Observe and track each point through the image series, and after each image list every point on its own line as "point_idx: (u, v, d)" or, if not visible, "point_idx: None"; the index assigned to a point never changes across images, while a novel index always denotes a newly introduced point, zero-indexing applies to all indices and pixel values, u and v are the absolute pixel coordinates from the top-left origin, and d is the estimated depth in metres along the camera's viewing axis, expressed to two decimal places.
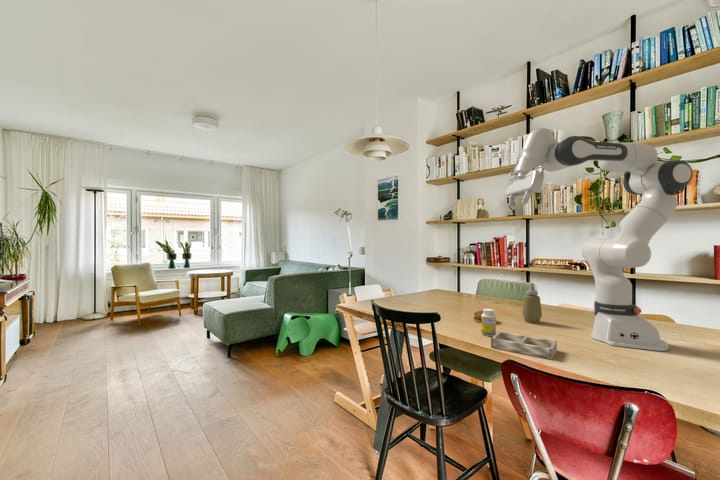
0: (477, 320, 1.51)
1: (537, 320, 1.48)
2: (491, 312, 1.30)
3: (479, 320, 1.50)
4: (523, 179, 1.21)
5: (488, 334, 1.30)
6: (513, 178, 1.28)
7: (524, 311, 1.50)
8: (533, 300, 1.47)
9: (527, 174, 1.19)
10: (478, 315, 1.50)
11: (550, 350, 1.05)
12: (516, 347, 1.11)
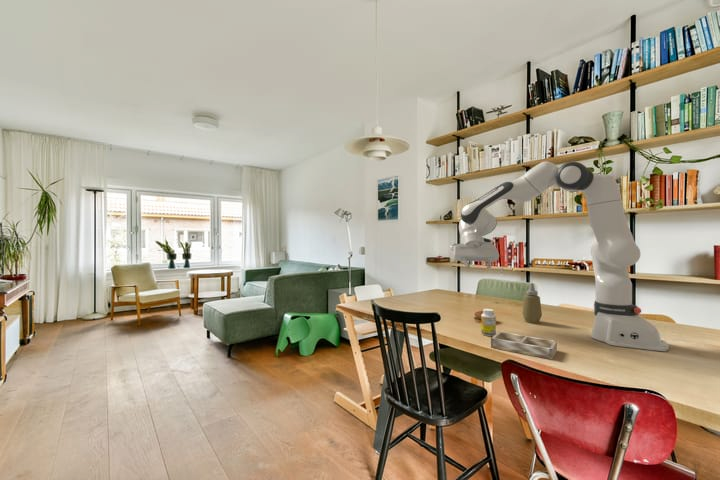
0: (477, 320, 1.51)
1: (537, 320, 1.48)
2: (491, 312, 1.30)
3: (479, 320, 1.50)
4: None
5: (488, 334, 1.30)
6: None
7: (524, 311, 1.50)
8: (533, 300, 1.47)
9: None
10: (478, 315, 1.50)
11: (550, 350, 1.05)
12: (516, 347, 1.11)
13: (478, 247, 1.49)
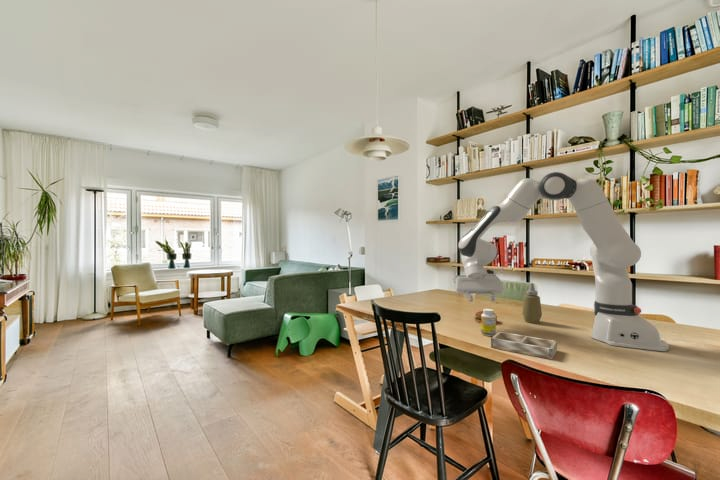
0: (478, 320, 1.51)
1: (537, 320, 1.48)
2: (491, 312, 1.30)
3: (480, 320, 1.50)
4: None
5: (488, 334, 1.30)
6: None
7: (524, 311, 1.50)
8: (533, 300, 1.47)
9: None
10: (479, 315, 1.50)
11: (550, 350, 1.05)
12: (516, 347, 1.11)
13: (481, 279, 1.46)
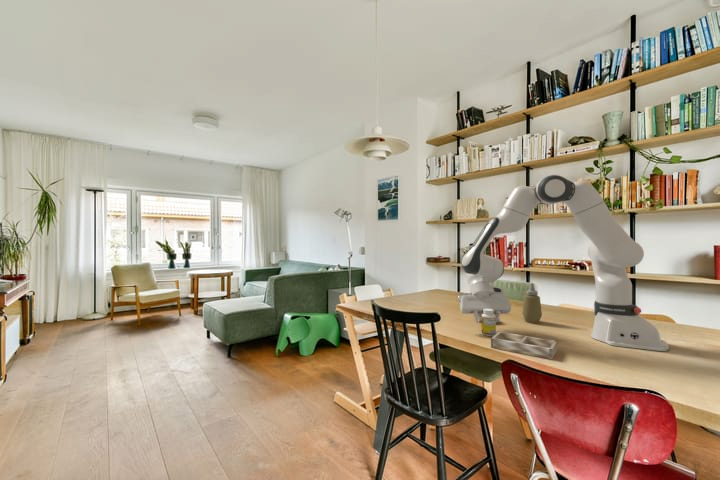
0: None
1: (537, 320, 1.48)
2: (491, 312, 1.30)
3: None
4: None
5: (488, 334, 1.30)
6: None
7: (524, 311, 1.50)
8: (533, 300, 1.47)
9: None
10: (480, 315, 1.50)
11: (550, 350, 1.05)
12: (516, 347, 1.11)
13: (488, 298, 1.37)
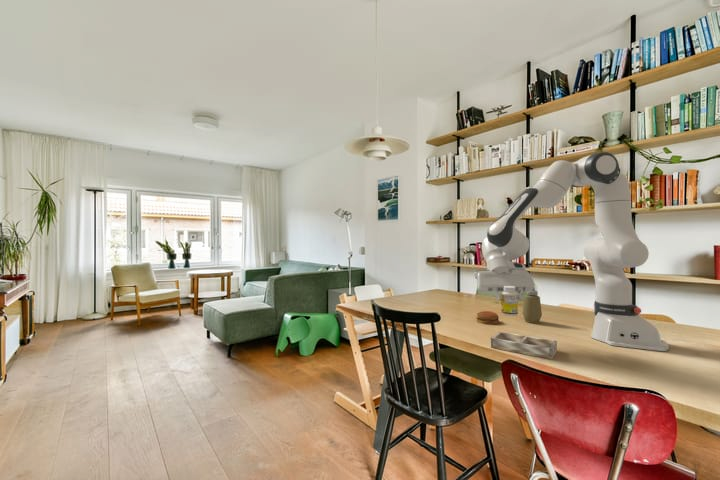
0: (480, 321, 1.50)
1: (537, 320, 1.48)
2: (513, 289, 1.16)
3: (482, 321, 1.49)
4: None
5: (509, 314, 1.15)
6: None
7: (524, 311, 1.50)
8: (533, 300, 1.47)
9: None
10: (481, 316, 1.49)
11: (550, 350, 1.05)
12: (516, 347, 1.11)
13: (508, 274, 1.23)
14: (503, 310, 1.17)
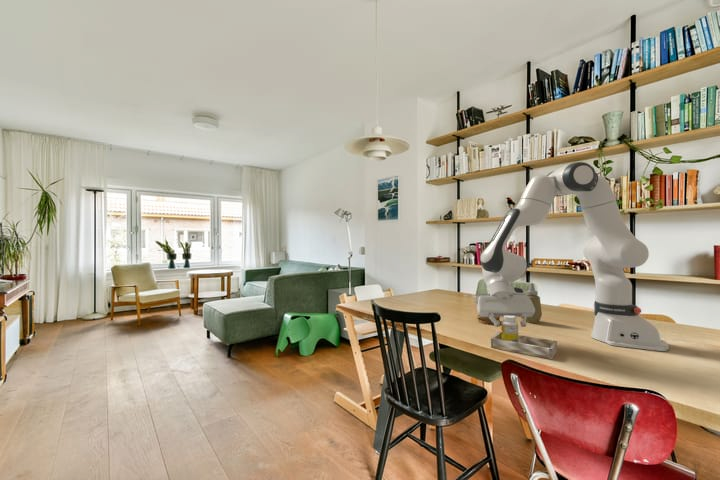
0: (481, 321, 1.50)
1: (537, 320, 1.48)
2: (513, 319, 1.16)
3: (483, 321, 1.49)
4: None
5: None
6: None
7: None
8: (533, 300, 1.47)
9: None
10: None
11: (550, 350, 1.05)
12: (516, 347, 1.11)
13: (508, 299, 1.23)
14: None
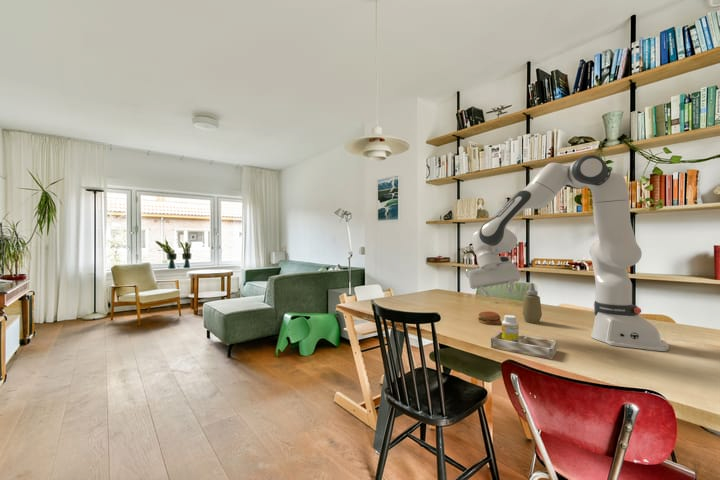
0: (481, 321, 1.50)
1: (537, 320, 1.48)
2: (513, 319, 1.16)
3: (484, 321, 1.49)
4: None
5: None
6: None
7: (524, 311, 1.50)
8: (533, 300, 1.47)
9: None
10: (482, 316, 1.49)
11: (550, 350, 1.05)
12: (516, 347, 1.11)
13: (495, 269, 1.35)
14: None
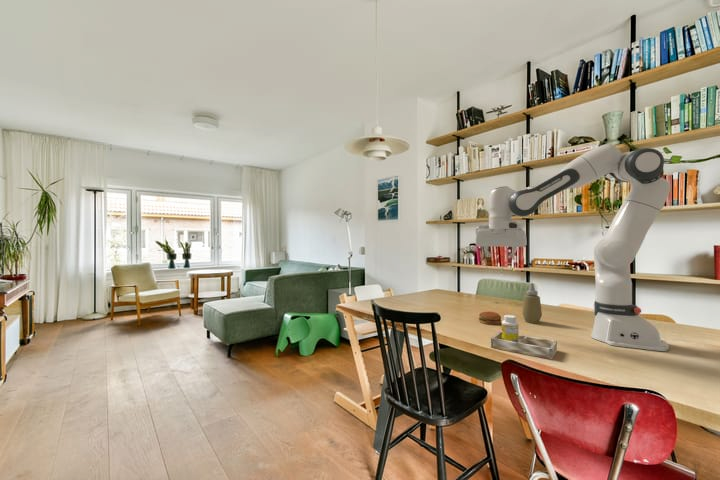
0: (482, 321, 1.49)
1: (537, 320, 1.48)
2: (513, 319, 1.16)
3: (484, 321, 1.48)
4: None
5: None
6: None
7: (524, 311, 1.50)
8: (533, 300, 1.47)
9: None
10: (483, 316, 1.49)
11: (550, 350, 1.05)
12: (516, 347, 1.11)
13: (502, 233, 1.36)
14: None
